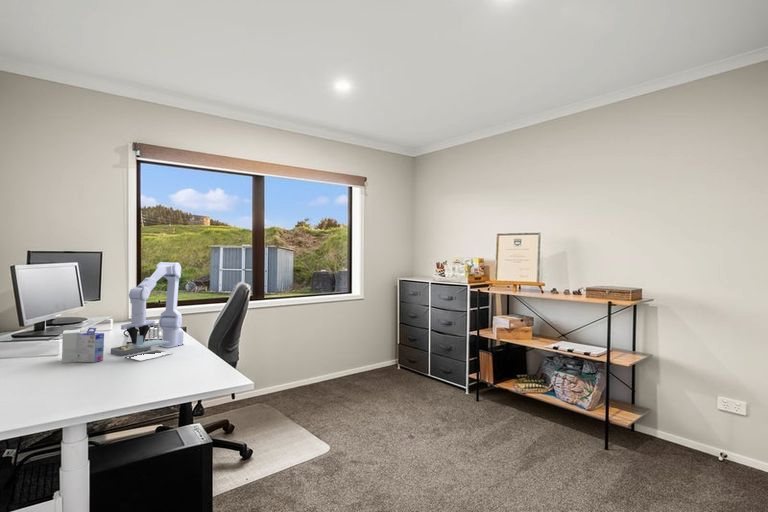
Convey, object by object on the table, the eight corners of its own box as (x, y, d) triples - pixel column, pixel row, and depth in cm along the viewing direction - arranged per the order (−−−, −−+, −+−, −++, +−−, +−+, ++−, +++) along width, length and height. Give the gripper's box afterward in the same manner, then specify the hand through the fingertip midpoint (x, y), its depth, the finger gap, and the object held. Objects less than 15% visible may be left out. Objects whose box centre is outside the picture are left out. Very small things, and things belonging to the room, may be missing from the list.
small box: (79, 361, 180) (80, 332, 180) (61, 363, 176) (62, 333, 176) (80, 357, 186) (80, 329, 186) (62, 359, 183) (63, 330, 182)
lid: (156, 341, 201) (157, 331, 201) (169, 343, 197) (170, 333, 197) (127, 345, 188) (127, 335, 188) (140, 348, 184) (140, 337, 184)
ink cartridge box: (104, 359, 184) (105, 327, 184) (94, 363, 178) (95, 330, 178) (83, 358, 184) (84, 326, 184) (73, 361, 179) (74, 329, 179)
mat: (157, 350, 202) (157, 350, 202) (172, 354, 197) (172, 353, 197) (124, 357, 188) (124, 357, 188) (140, 361, 183) (140, 360, 183)
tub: (139, 347, 207) (139, 342, 207) (150, 350, 203) (150, 345, 203) (110, 353, 194) (110, 348, 194) (121, 356, 190) (122, 350, 190)
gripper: (148, 310, 196) (147, 338, 196) (117, 314, 183) (116, 344, 183) (157, 312, 192) (157, 340, 192) (126, 316, 179) (126, 346, 180)
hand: (138, 342), depth 187 cm, fingers closed on lid, 3 cm apart
